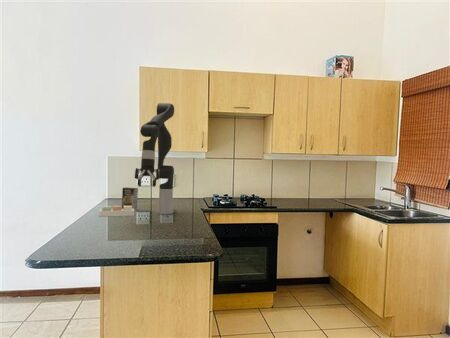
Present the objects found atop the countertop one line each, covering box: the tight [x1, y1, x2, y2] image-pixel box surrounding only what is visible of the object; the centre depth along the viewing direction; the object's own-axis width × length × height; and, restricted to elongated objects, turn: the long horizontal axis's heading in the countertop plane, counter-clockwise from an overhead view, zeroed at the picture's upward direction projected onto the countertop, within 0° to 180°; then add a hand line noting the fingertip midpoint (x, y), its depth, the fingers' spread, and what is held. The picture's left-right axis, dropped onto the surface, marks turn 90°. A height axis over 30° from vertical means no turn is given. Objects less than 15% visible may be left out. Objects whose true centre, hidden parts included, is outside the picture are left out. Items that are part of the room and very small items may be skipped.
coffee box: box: [121, 187, 139, 212], centre depth 227 cm, size 9×6×16 cm
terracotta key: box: [112, 205, 122, 211], centre depth 207 cm, size 5×5×3 cm
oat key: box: [123, 206, 132, 210], centre depth 209 cm, size 5×5×3 cm
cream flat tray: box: [99, 208, 135, 218], centre depth 207 cm, size 21×8×4 cm, turn 109°
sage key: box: [101, 205, 112, 211], centre depth 205 cm, size 5×5×3 cm
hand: (146, 186), depth 183 cm, fingers open, 8 cm apart
